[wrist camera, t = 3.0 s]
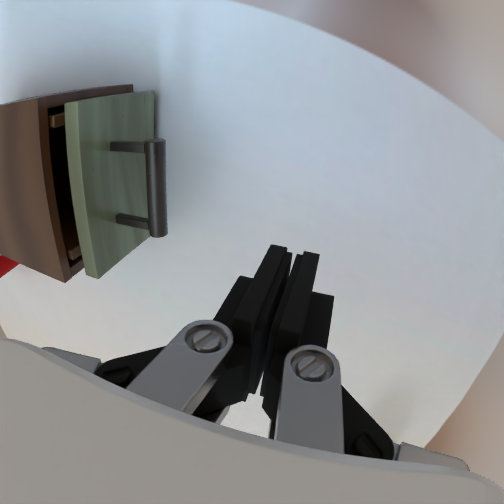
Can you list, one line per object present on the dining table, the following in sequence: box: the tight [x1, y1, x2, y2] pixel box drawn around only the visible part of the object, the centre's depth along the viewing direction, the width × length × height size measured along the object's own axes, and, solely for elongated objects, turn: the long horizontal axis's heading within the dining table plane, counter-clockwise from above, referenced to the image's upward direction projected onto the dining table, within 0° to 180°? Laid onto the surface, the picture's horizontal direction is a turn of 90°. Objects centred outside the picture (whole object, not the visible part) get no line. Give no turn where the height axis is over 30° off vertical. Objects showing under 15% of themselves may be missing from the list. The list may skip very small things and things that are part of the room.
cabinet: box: [0, 84, 133, 283], centre depth 23 cm, size 18×13×10 cm
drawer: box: [47, 91, 168, 279], centre depth 22 cm, size 20×11×8 cm, turn 86°
